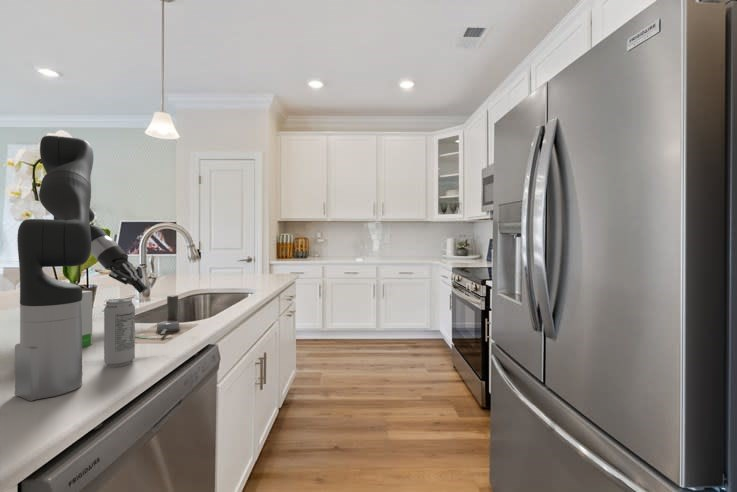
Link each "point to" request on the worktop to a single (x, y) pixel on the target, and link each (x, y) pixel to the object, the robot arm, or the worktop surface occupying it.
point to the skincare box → (86, 318)
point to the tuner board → (154, 336)
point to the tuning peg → (170, 316)
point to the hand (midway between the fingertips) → (143, 290)
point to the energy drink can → (119, 332)
